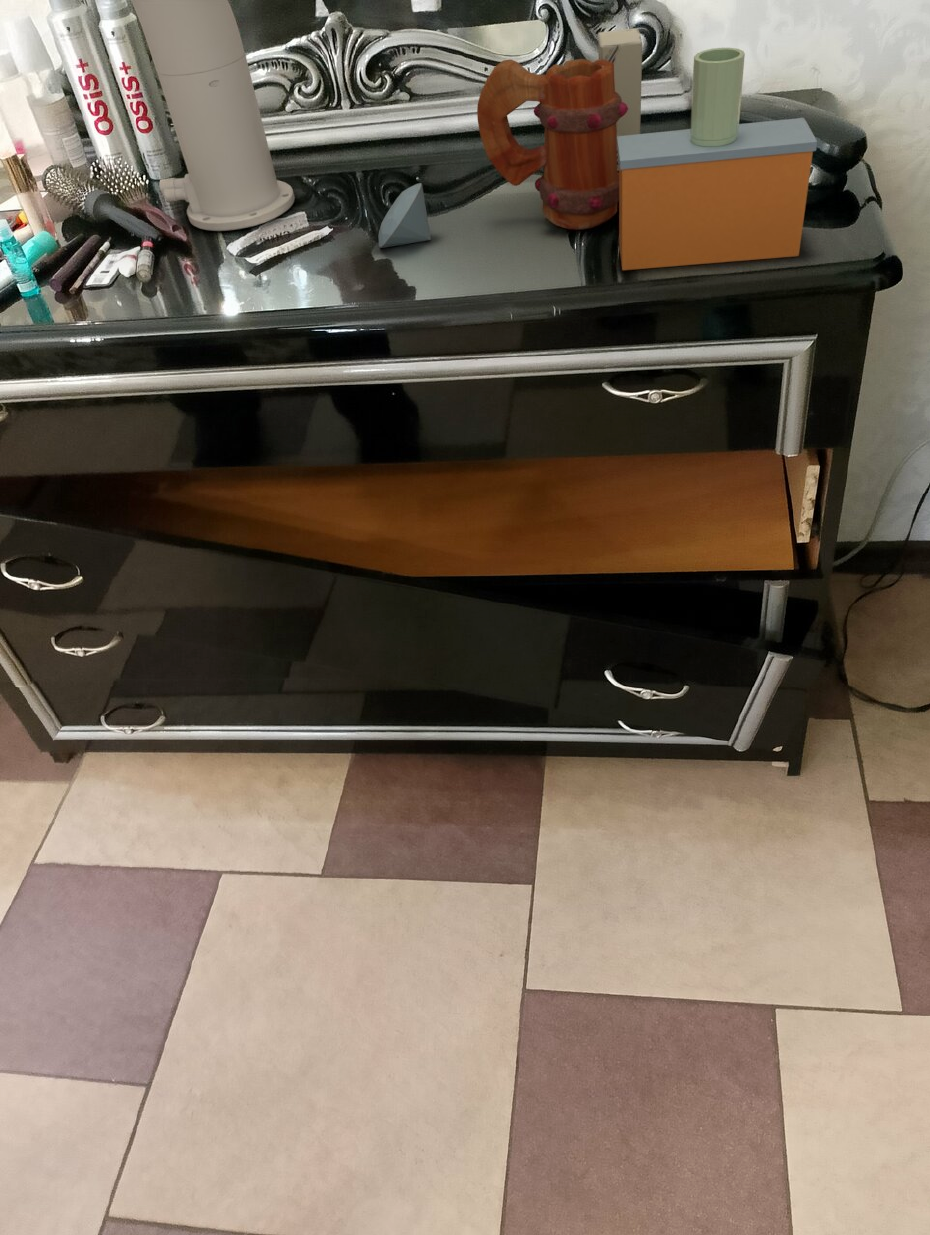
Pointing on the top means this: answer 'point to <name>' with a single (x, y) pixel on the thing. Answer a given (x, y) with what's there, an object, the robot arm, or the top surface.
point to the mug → (559, 136)
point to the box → (625, 74)
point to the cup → (716, 96)
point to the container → (713, 195)
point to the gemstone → (405, 219)
